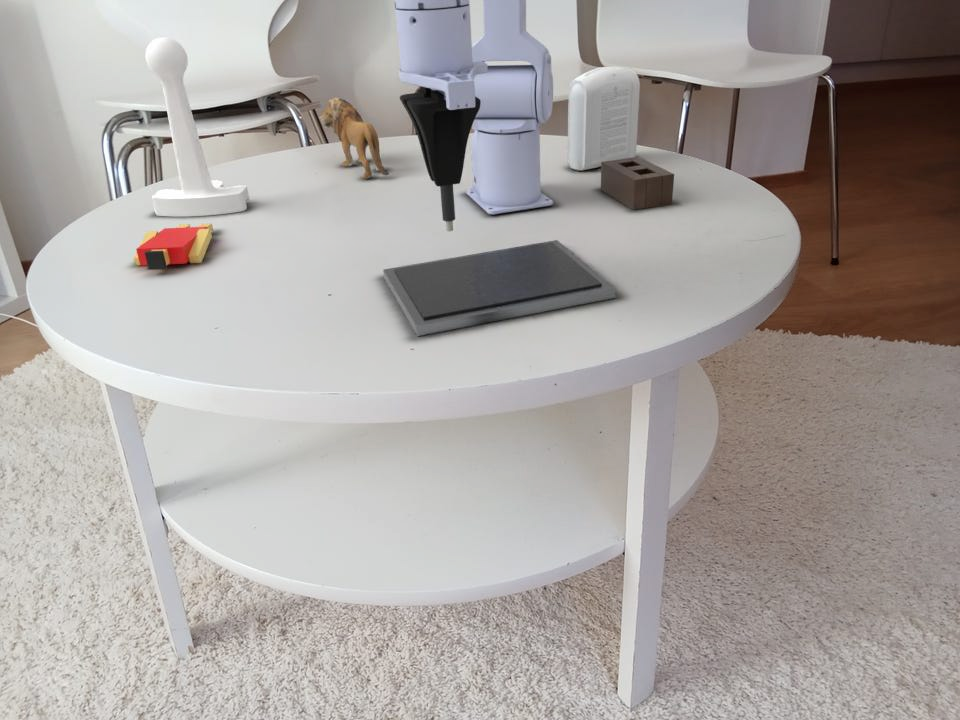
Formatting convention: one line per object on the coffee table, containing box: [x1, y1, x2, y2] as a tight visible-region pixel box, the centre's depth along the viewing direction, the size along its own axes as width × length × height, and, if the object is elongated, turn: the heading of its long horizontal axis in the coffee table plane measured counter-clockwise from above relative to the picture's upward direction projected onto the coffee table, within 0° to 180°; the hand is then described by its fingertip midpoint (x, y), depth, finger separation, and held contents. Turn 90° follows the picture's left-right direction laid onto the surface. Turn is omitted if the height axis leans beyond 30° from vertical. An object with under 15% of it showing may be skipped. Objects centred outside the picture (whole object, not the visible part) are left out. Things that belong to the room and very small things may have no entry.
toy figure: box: [133, 222, 214, 270], centre depth 83 cm, size 2×7×12 cm
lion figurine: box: [318, 97, 390, 180], centre depth 107 cm, size 15×5×9 cm, turn 37°
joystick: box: [144, 36, 251, 218], centre depth 93 cm, size 11×8×20 cm
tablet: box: [382, 239, 616, 337], centre depth 71 cm, size 13×18×1 cm
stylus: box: [439, 184, 456, 232], centre depth 66 cm, size 1×1×8 cm
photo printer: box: [567, 66, 641, 171], centre depth 102 cm, size 10×4×12 cm, turn 123°
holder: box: [600, 156, 675, 211], centre depth 91 cm, size 5×8×4 cm, turn 18°
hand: (445, 181), depth 66 cm, fingers closed on stylus, 1 cm apart
